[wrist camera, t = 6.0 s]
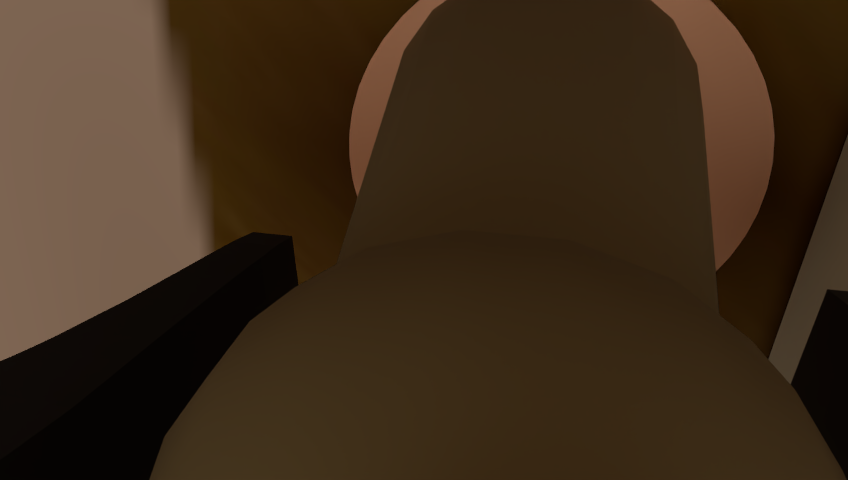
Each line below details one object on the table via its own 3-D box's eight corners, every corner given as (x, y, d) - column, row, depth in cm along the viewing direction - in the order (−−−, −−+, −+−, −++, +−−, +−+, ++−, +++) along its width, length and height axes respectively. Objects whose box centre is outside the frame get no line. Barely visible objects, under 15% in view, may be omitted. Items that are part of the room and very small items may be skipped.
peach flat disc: (710, 326, 16) (717, 354, 15) (371, 289, 17) (360, 312, 16) (817, -55, 11) (837, -47, 10) (350, -63, 13) (333, -56, 12)
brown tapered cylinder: (374, 220, 15) (41, 853, 6) (411, -69, 11) (-256, 295, 2) (640, 283, 14) (764, 1097, 5) (759, -1, 11) (1751, 834, 2)
